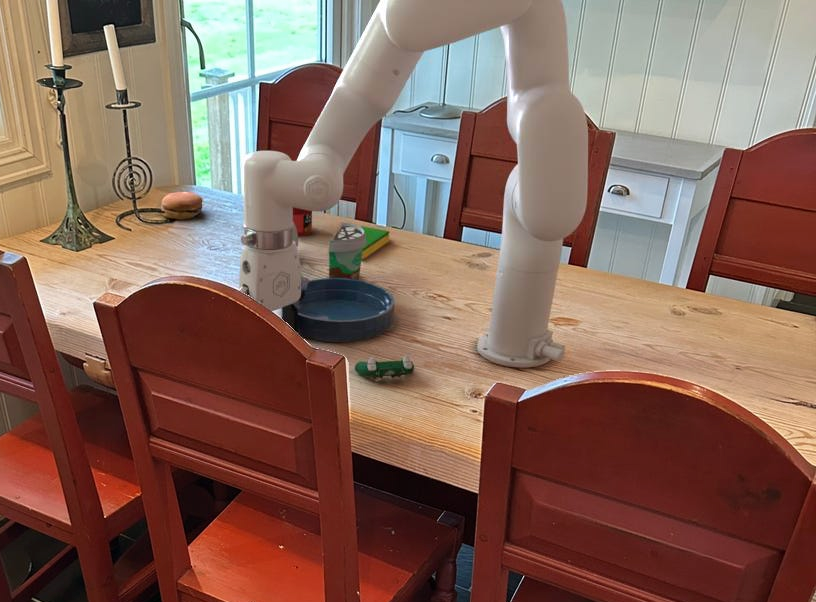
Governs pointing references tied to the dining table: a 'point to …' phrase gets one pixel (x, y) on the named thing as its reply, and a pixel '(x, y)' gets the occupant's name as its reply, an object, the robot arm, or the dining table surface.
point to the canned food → (302, 221)
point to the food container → (346, 252)
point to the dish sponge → (374, 240)
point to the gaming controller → (385, 368)
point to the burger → (181, 205)
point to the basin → (344, 310)
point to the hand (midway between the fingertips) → (269, 337)
